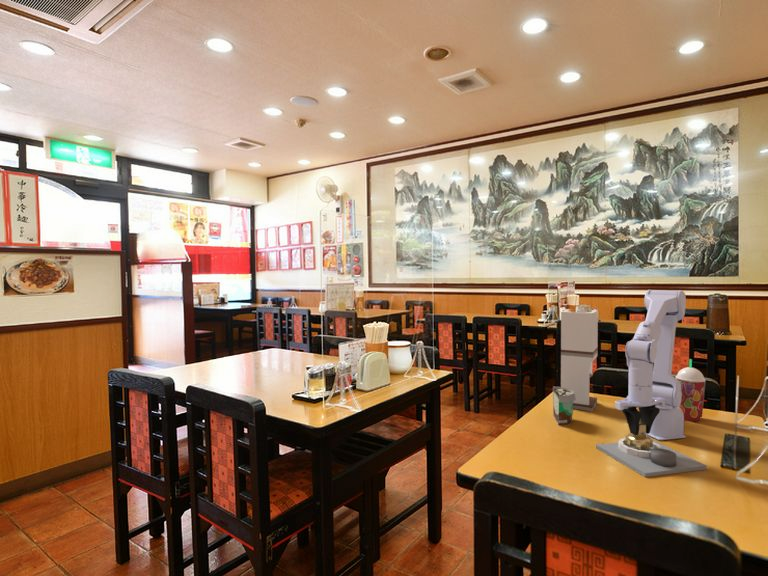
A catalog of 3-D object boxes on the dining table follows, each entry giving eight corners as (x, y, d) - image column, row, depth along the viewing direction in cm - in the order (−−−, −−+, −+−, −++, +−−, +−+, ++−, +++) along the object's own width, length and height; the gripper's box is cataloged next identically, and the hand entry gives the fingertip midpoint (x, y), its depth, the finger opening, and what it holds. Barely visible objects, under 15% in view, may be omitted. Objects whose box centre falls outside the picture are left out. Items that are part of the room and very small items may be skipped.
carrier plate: (650, 442, 130) (650, 430, 130) (706, 469, 113) (706, 455, 113) (596, 448, 127) (596, 435, 127) (645, 477, 109) (645, 463, 109)
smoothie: (704, 416, 151) (705, 358, 150) (705, 424, 144) (707, 362, 143) (674, 412, 155) (675, 355, 155) (674, 420, 148) (675, 360, 148)
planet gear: (639, 438, 127) (640, 417, 126) (658, 448, 120) (659, 426, 120) (619, 440, 125) (620, 419, 125) (637, 450, 119) (638, 429, 119)
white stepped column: (592, 411, 158) (593, 313, 157) (560, 406, 164) (561, 311, 163) (597, 402, 168) (597, 310, 166) (567, 398, 174) (567, 309, 172)
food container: (579, 427, 143) (579, 397, 142) (559, 426, 144) (559, 396, 143) (571, 415, 155) (571, 386, 154) (552, 414, 156) (552, 386, 156)
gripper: (650, 378, 127) (649, 425, 128) (607, 382, 124) (606, 430, 125) (671, 384, 121) (671, 434, 121) (626, 389, 117) (625, 440, 118)
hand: (639, 433), depth 122 cm, fingers closed on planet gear, 3 cm apart
